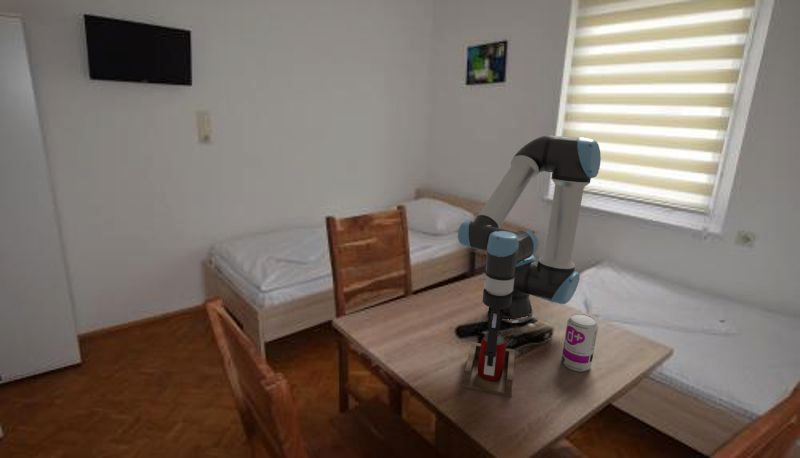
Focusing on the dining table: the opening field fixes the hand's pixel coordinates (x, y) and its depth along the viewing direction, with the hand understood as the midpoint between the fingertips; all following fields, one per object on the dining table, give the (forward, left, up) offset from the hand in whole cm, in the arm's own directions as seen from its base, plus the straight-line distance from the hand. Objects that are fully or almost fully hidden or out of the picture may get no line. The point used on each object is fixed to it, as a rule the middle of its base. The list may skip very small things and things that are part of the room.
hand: (490, 365), depth 119 cm
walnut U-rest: (0, -1, -4) cm, 4 cm away
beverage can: (0, 0, -3) cm, 3 cm away
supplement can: (-28, 0, -4) cm, 29 cm away
